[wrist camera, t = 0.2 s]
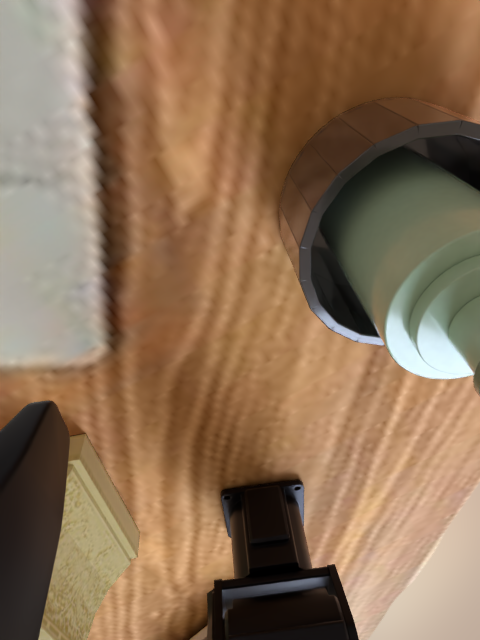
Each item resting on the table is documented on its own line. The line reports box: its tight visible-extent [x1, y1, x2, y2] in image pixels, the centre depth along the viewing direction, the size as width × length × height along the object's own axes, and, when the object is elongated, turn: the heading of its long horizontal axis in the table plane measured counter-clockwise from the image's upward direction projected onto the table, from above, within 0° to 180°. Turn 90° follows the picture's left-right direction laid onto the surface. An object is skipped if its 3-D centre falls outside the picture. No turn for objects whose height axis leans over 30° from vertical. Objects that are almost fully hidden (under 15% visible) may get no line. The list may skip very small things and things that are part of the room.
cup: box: [279, 97, 480, 346], centre depth 20 cm, size 10×10×5 cm
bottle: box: [320, 146, 480, 396], centre depth 17 cm, size 6×6×12 cm
